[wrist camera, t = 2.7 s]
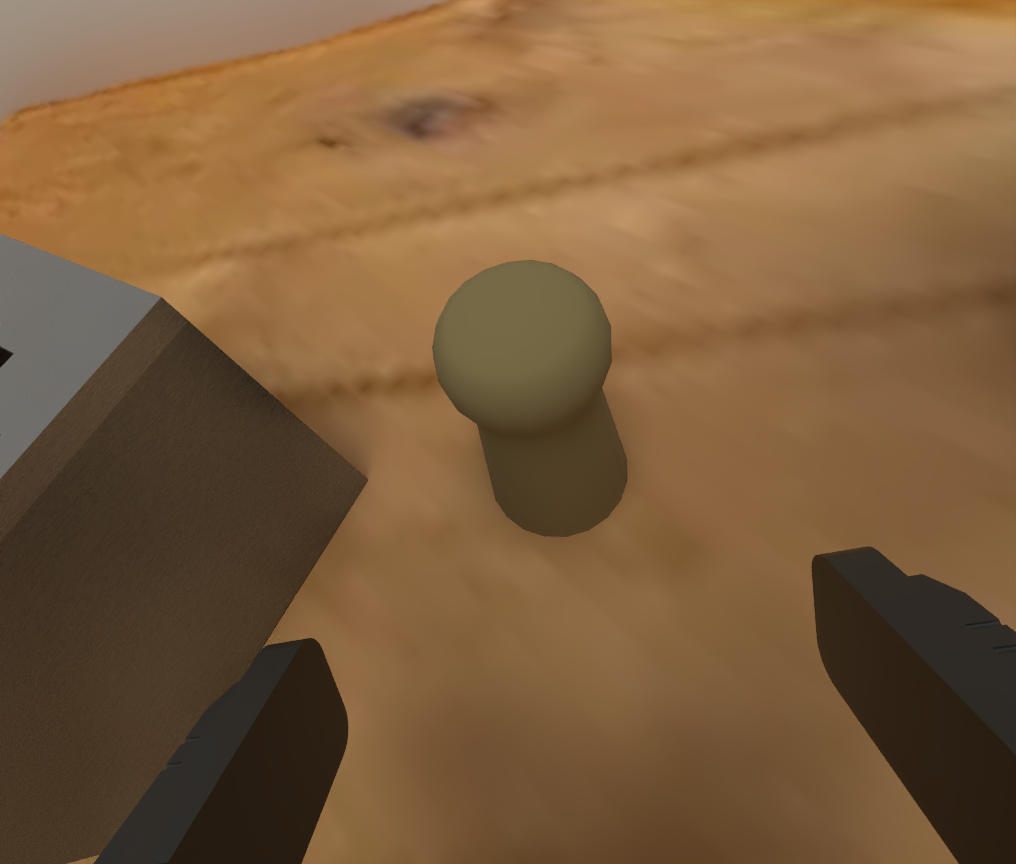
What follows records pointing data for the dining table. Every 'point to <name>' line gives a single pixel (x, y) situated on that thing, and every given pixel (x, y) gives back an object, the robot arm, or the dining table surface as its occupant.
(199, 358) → the drop box
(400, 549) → the dining table surface
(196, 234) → the dining table surface
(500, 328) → the cork
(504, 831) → the dining table surface
